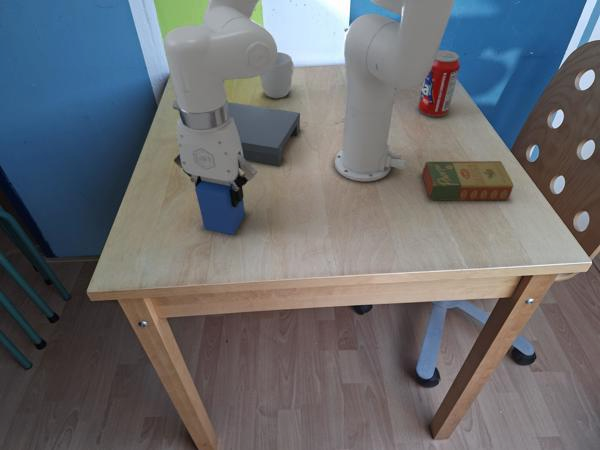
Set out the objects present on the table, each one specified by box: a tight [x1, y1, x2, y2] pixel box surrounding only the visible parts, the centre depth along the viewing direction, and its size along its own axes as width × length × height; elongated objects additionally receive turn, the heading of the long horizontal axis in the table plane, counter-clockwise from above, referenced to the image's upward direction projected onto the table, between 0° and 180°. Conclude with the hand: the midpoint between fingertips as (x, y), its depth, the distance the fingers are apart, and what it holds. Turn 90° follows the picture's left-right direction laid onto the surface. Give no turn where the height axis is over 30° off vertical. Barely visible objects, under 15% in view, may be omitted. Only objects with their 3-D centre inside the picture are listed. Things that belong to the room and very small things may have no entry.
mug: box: [259, 51, 295, 99], centre depth 119 cm, size 13×9×10 cm
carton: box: [421, 160, 514, 201], centre depth 88 cm, size 8×16×4 cm, turn 89°
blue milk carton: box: [194, 176, 246, 236], centre depth 79 cm, size 6×6×11 cm
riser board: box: [227, 101, 301, 167], centre depth 102 cm, size 24×16×5 cm, turn 72°
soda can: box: [418, 49, 461, 118], centre depth 107 cm, size 8×8×15 cm
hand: (220, 198), depth 79 cm, fingers closed on blue milk carton, 6 cm apart
